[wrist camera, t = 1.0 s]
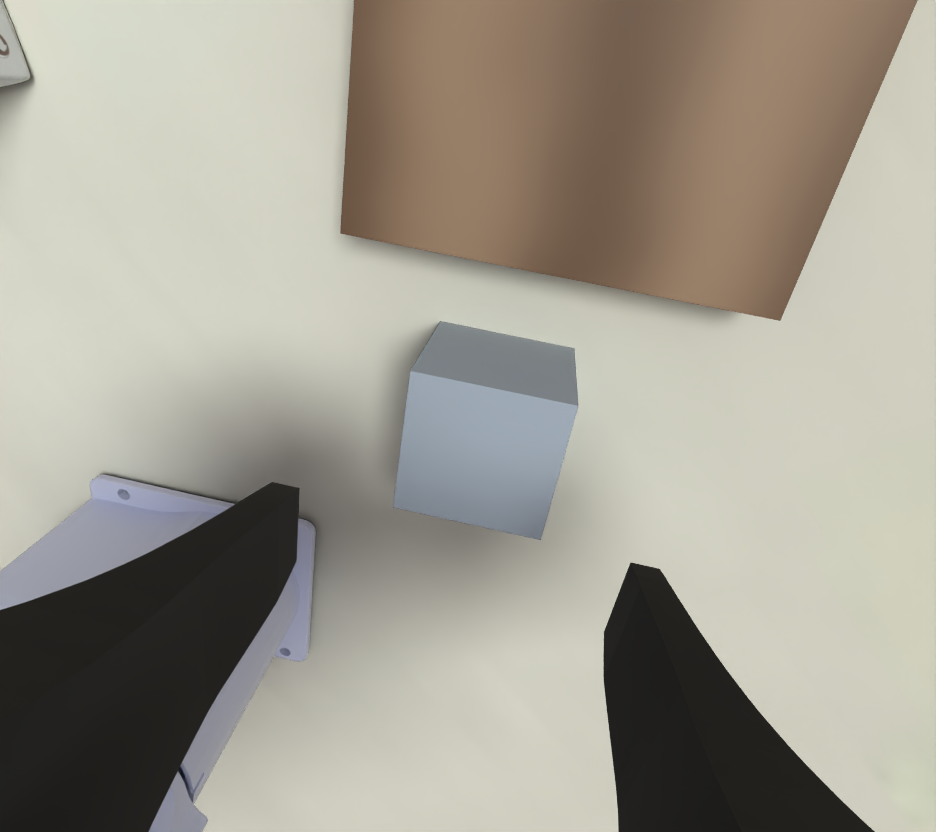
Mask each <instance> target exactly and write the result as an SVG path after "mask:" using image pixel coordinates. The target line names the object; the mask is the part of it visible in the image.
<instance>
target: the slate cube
mask: <svg viewBox="0 0 936 832" xmlns="http://www.w3.org/2000/svg"><path fill="white" fill-rule="evenodd" d="M577 409H578V394H577V379H576V364H575V349H574V348H570V347H565V346H560V345H555V344H550V343H545V342H540V341H535V340H530V339H526V338H521V337H516V336H511V335H506V334H501V333H496V332H491V331H486V330H482V329H477V328H472V327H467V326H462V325H457V324H452V323H447V322H442V321H440V323H439V324H438V326H437V328H436V329H435V331H434V333H433V334H432V336H431V338H430V339H429V341H428V343H427V344H426V346H425V348H424V349H423V351H422V353H421V354H420V356H419V357H418V359H417V361H416V362H415V364H414V366H413V367H412V369H411V371H410V377H409V385H408V393H407V401H406V409H405V417H404V425H403V432H402V440H401V448H400V456H399V464H398V472H397V480H396V487H395V495H394V503H393V508H398V509H402V510H407V511H411V512H416V513H421V514H425V515H430V516H434V517H439V518H443V519H448V520H452V521H457V522H461V523H466V524H470V525H475V526H479V527H484V528H488V529H493V530H497V531H502V532H507V533H511V534H516V535H520V536H525V537H529V538H534V539H538V540H541V537H542V533H543V530H544V526H545V523H546V519H547V516H548V512H549V508H550V505H551V501H552V498H553V494H554V491H555V487H556V484H557V480H558V476H559V473H560V469H561V466H562V462H563V459H564V455H565V452H566V448H567V444H568V441H569V437H570V434H571V430H572V427H573V423H574V419H575V416H576V412H577Z"/></svg>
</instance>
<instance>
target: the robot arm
mask: <svg viewBox="0 0 936 832" xmlns="http://www.w3.org/2000/svg"><path fill="white" fill-rule="evenodd" d="M90 490H91V496H92V499H90V500H89V501H88V502H87V503H85V504H84V505H83V506H82V507H80V508H79V509H78V510H76V511H75V512H74V513H73V514H71V515H70V516H69V517H68V518H66V519H65V520H64V521H63V522H61V523H60V524H59V525H58V526H56V527H55V528H54V529H53V530H51V531H50V532H49V533H48V534H46V535H45V536H44V537H42V538H41V539H40V540H39V541H37V542H36V543H35V544H34V545H32V546H31V547H30V548H29V549H27V550H26V551H25V552H24V553H22V554H21V555H20V556H19V557H17V558H16V559H15V560H13V561H12V562H11V563H10V564H8V565H7V566H6V567H5V568H3V569H2V570H1V571H0V832H202V831H203V829H204V827H205V825H206V823H207V822H208V819H207V817H206V816H205V815H204V814H203V813H201V812H200V811H199V810H198V809H197V808H196V806H195V805H194V803H195V801H196V799H197V797H198V795H199V794H200V792H201V790H202V788H203V786H204V784H205V783H206V781H207V779H208V777H209V775H210V773H211V771H212V770H213V768H214V766H215V764H216V762H217V760H218V758H219V757H220V755H221V753H222V751H223V749H224V747H225V746H226V744H227V742H228V740H229V738H230V736H231V734H232V733H233V731H234V729H235V727H236V725H237V723H238V722H239V720H240V718H241V716H242V714H243V712H244V710H245V709H246V707H247V705H248V703H249V701H250V699H251V698H252V696H253V694H254V692H255V690H256V688H257V686H258V685H259V683H260V681H261V679H262V677H263V675H264V673H265V672H266V670H267V668H268V666H269V664H270V662H271V661H272V659H273V657H274V656H276V657H280V658H284V659H288V660H292V661H298V662H299V661H303V660H305V659H306V657H307V655H308V653H309V644H310V626H311V607H312V589H313V571H314V553H315V534H316V531H315V528H314V526H313V525H312V524H311V523H310V522H309V521H306V520H303V519H299V518H298V512H299V488H296V487H292V486H287V485H283V484H278V483H274V482H272V483H270V484H268V485H267V486H265V487H263V488H261V489H260V490H258V491H256V492H255V493H253V494H251V495H250V496H248V497H246V498H245V499H243V500H241V501H240V502H238V503H237V504H232V503H228V502H224V501H219V500H215V499H210V498H206V497H201V496H197V495H193V494H188V493H184V492H179V491H175V490H170V489H166V488H162V487H157V486H153V485H148V484H144V483H140V482H135V481H131V480H126V479H122V478H117V477H113V476H109V475H98V476H96V477H95V478H94V479H92V481H91V482H90ZM125 490H126V491H127V492H128V493H127V492H126V491H125ZM604 686H605V696H606V705H607V714H608V722H609V731H610V739H611V748H612V756H613V765H614V773H615V782H616V791H617V804H618V824H619V832H874V831H873V830H872V829H871V828H870V827H869V826H868V825H867V824H865V823H864V822H863V821H862V820H861V819H860V818H859V817H858V816H857V815H856V814H855V813H854V812H853V811H852V810H851V809H850V808H849V807H848V806H847V805H845V804H844V803H843V802H842V801H841V800H840V799H839V798H838V797H837V796H836V795H835V794H834V793H833V792H832V791H831V790H830V789H829V788H828V787H827V786H826V785H825V784H824V783H823V782H822V781H821V780H820V778H819V777H818V776H817V775H816V774H815V773H814V772H813V771H812V770H811V769H810V768H809V767H808V766H807V765H806V764H805V763H804V762H803V761H802V760H801V759H800V758H799V757H798V756H797V755H796V753H795V752H794V751H793V750H792V749H791V748H790V747H789V746H788V745H787V744H786V742H785V741H784V740H783V739H782V738H781V737H780V735H779V734H778V733H777V732H776V731H775V730H774V729H773V727H772V726H771V725H770V724H769V723H768V722H767V721H766V719H765V718H764V717H763V716H762V715H761V714H760V712H759V711H758V710H757V709H756V707H755V706H754V705H753V704H752V703H751V701H750V700H749V699H748V697H747V696H746V695H745V694H744V692H743V691H742V690H741V688H740V687H739V686H738V684H737V683H736V682H735V680H734V679H733V678H732V677H731V675H730V674H729V673H728V671H727V670H726V669H725V667H724V666H723V664H722V663H721V662H720V660H719V659H718V657H717V656H716V655H715V653H714V652H713V650H712V649H711V647H710V646H709V644H708V643H707V642H706V640H705V639H704V637H703V636H702V634H701V633H700V631H699V630H698V628H697V627H696V625H695V624H694V622H693V621H692V619H691V617H690V616H689V614H688V613H687V611H686V610H685V608H684V606H683V605H682V603H681V602H680V600H679V599H678V597H677V595H676V594H675V592H674V591H673V589H672V587H671V586H670V584H669V583H668V581H667V580H666V578H665V576H664V575H663V573H662V572H661V570H660V569H657V568H653V567H648V566H644V565H639V564H635V563H630V566H629V568H628V571H627V573H626V576H625V579H624V581H623V584H622V586H621V589H620V592H619V594H618V597H617V600H616V602H615V605H614V607H613V610H612V613H611V615H610V618H609V620H608V623H607V626H606V628H605V631H604Z"/></svg>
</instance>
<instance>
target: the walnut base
mask: <svg viewBox="0 0 936 832" xmlns="http://www.w3.org/2000/svg"><path fill="white" fill-rule="evenodd" d="M916 3H917V0H354V14H353V31H352V48H351V64H350V81H349V98H348V115H347V131H346V148H345V165H344V181H343V198H342V215H341V232H340V233H341V234H346V235H351V236H356V237H361V238H366V239H371V240H376V241H381V242H386V243H391V244H396V245H401V246H407V247H412V248H417V249H422V250H427V251H432V252H437V253H442V254H447V255H452V256H457V257H462V258H467V259H472V260H477V261H482V262H487V263H492V264H497V265H502V266H507V267H512V268H517V269H522V270H527V271H532V272H538V273H543V274H548V275H553V276H558V277H563V278H568V279H573V280H578V281H583V282H588V283H593V284H598V285H603V286H608V287H613V288H618V289H623V290H628V291H633V292H638V293H643V294H648V295H653V296H658V297H663V298H668V299H674V300H679V301H684V302H689V303H694V304H699V305H704V306H709V307H714V308H719V309H724V310H729V311H734V312H739V313H744V314H749V315H754V316H759V317H764V318H769V319H774V320H779V321H780V320H781V318H782V315H783V313H784V311H785V308H786V306H787V304H788V301H789V299H790V297H791V294H792V292H793V290H794V287H795V285H796V283H797V280H798V278H799V276H800V273H801V271H802V269H803V266H804V264H805V262H806V259H807V257H808V255H809V252H810V250H811V248H812V245H813V243H814V241H815V238H816V236H817V234H818V231H819V229H820V227H821V224H822V222H823V220H824V217H825V215H826V213H827V210H828V208H829V206H830V203H831V201H832V199H833V196H834V194H835V192H836V189H837V187H838V185H839V182H840V180H841V178H842V175H843V173H844V171H845V168H846V166H847V164H848V161H849V159H850V157H851V154H852V152H853V150H854V147H855V145H856V143H857V140H858V138H859V136H860V133H861V131H862V129H863V126H864V124H865V122H866V119H867V117H868V115H869V112H870V110H871V108H872V105H873V103H874V101H875V98H876V96H877V94H878V91H879V89H880V87H881V84H882V82H883V80H884V77H885V75H886V73H887V70H888V68H889V66H890V63H891V61H892V59H893V56H894V54H895V52H896V49H897V47H898V45H899V42H900V40H901V38H902V35H903V33H904V31H905V28H906V26H907V24H908V21H909V19H910V17H911V14H912V12H913V10H914V7H915V5H916Z"/></svg>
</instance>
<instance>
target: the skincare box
mask: <svg viewBox="0 0 936 832" xmlns="http://www.w3.org/2000/svg"><path fill="white" fill-rule="evenodd" d="M29 78H30V73H29V70H28V67H27V64H26V61H25V58H24V55H23V52H22V49H21V46H20V43H19V41H18V38H17V36H16V33H15V30H14V27H13V25H12V22H11V20H10V17H9V15H8V13H7V11H6V8H5V6H4V3H3V1H2V0H0V87H3V86H8V85H12V84H17V83H20V82H23V81H26V80H28V79H29Z"/></svg>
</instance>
